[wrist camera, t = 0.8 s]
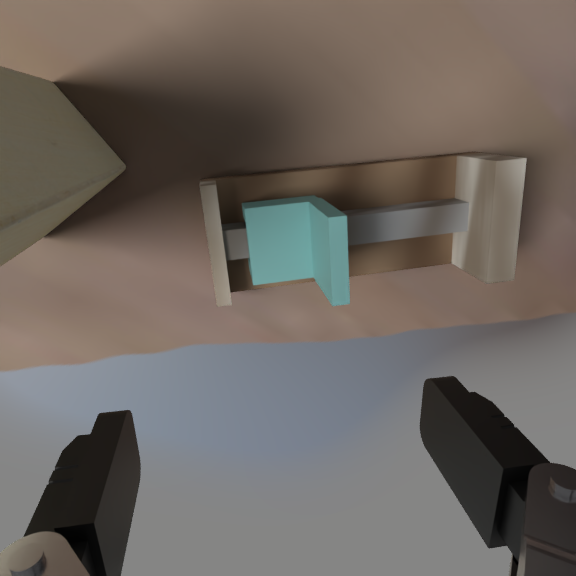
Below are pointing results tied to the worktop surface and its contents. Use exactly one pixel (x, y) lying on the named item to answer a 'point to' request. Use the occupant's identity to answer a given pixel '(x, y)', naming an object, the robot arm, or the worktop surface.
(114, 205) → the worktop surface
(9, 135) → the toy refrigerator
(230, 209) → the track
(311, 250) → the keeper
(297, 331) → the worktop surface
